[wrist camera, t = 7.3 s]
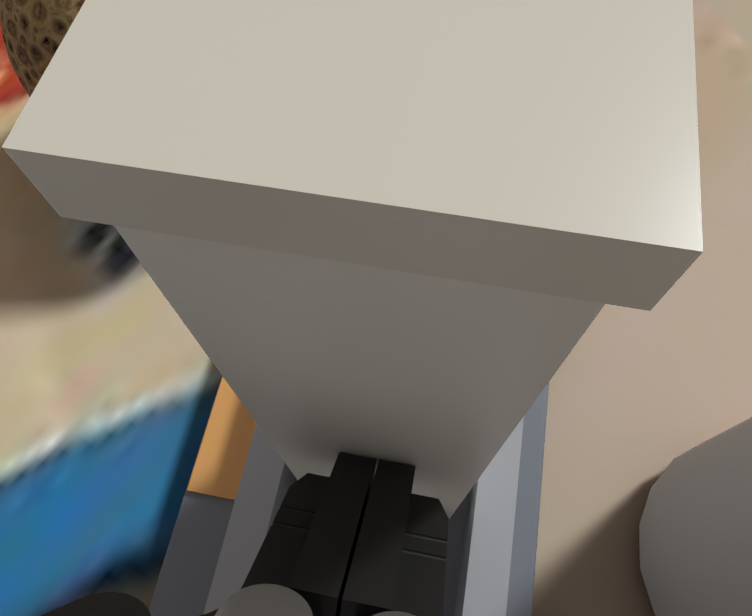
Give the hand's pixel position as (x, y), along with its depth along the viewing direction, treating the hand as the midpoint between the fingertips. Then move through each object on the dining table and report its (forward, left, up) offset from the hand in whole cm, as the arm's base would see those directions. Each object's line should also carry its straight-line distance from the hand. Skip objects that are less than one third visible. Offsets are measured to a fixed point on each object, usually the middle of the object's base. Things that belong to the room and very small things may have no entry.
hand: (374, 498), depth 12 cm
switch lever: (+1, +2, -6) cm, 6 cm away
